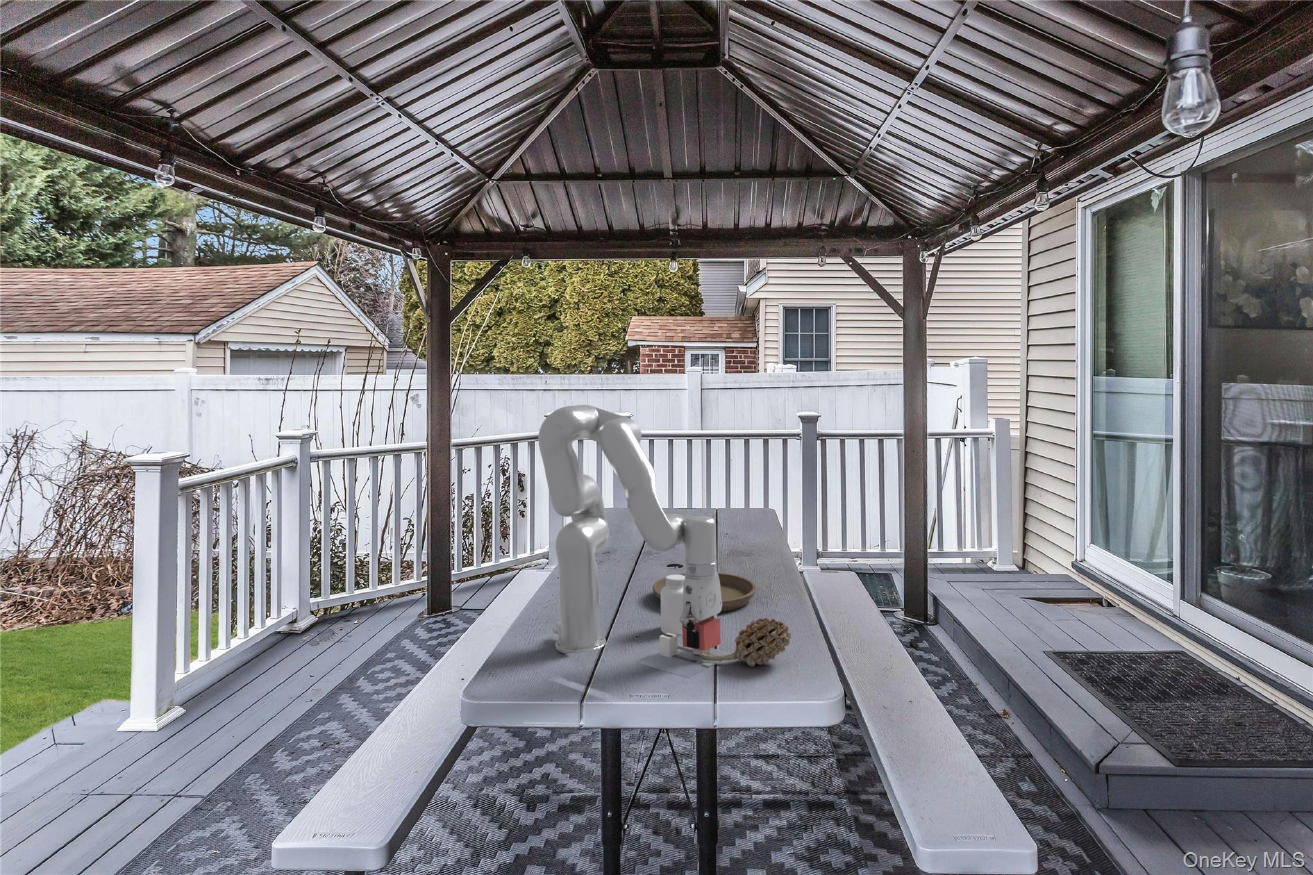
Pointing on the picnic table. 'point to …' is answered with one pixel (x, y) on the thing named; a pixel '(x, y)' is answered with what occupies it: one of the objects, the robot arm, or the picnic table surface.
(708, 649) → the breaker toggle
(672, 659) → the breaker panel
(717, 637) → the cap
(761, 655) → the pine cone
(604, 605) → the picnic table surface
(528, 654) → the picnic table surface
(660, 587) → the plant saucer
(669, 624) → the pill bottle
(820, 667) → the picnic table surface
